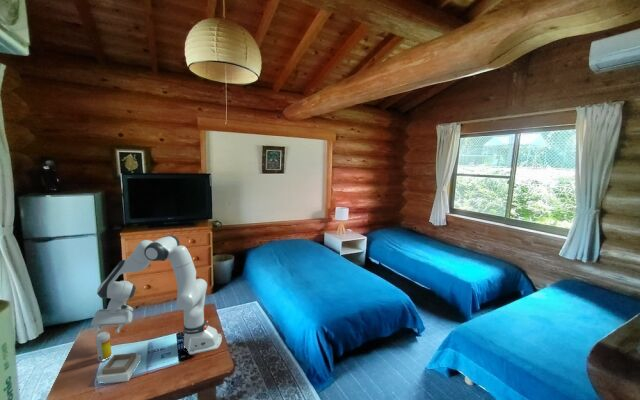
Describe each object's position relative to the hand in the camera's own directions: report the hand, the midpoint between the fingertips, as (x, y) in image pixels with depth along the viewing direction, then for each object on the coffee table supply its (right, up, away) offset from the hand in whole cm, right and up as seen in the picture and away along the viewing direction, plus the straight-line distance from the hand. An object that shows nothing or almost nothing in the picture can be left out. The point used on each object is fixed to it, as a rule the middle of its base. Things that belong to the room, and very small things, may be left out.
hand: (107, 333), depth 158 cm
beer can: (+1, -13, -3) cm, 14 cm away
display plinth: (+16, -15, -12) cm, 25 cm away
